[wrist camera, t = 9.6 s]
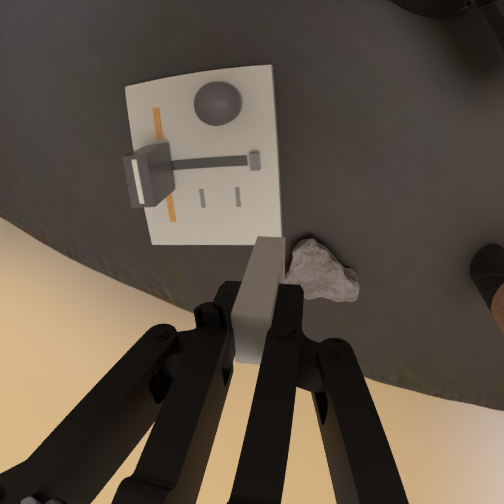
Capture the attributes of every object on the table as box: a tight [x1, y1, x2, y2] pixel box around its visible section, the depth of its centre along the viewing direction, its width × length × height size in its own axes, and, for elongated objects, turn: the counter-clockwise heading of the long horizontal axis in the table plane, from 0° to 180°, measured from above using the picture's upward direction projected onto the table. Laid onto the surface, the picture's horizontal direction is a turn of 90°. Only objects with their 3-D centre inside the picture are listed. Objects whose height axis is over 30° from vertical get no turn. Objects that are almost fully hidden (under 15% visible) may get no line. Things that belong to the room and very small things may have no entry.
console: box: [125, 65, 283, 245], centre depth 37 cm, size 22×18×4 cm
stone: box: [284, 238, 360, 302], centre depth 41 cm, size 8×10×6 cm
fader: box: [122, 143, 175, 208], centre depth 35 cm, size 6×3×6 cm, turn 4°
